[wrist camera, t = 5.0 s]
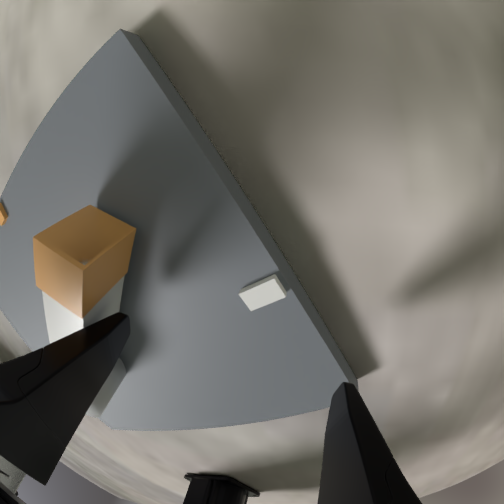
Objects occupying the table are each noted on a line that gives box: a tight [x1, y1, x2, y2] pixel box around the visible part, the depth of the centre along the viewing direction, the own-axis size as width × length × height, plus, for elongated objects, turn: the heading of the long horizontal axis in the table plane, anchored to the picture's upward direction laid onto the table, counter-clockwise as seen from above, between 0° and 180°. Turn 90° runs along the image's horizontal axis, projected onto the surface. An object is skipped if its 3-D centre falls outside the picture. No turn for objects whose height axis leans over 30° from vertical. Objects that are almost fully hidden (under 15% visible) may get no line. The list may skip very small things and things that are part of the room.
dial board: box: [0, 29, 358, 431], centre depth 13 cm, size 18×21×2 cm
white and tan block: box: [33, 205, 136, 418], centre depth 11 cm, size 11×4×3 cm, turn 157°
